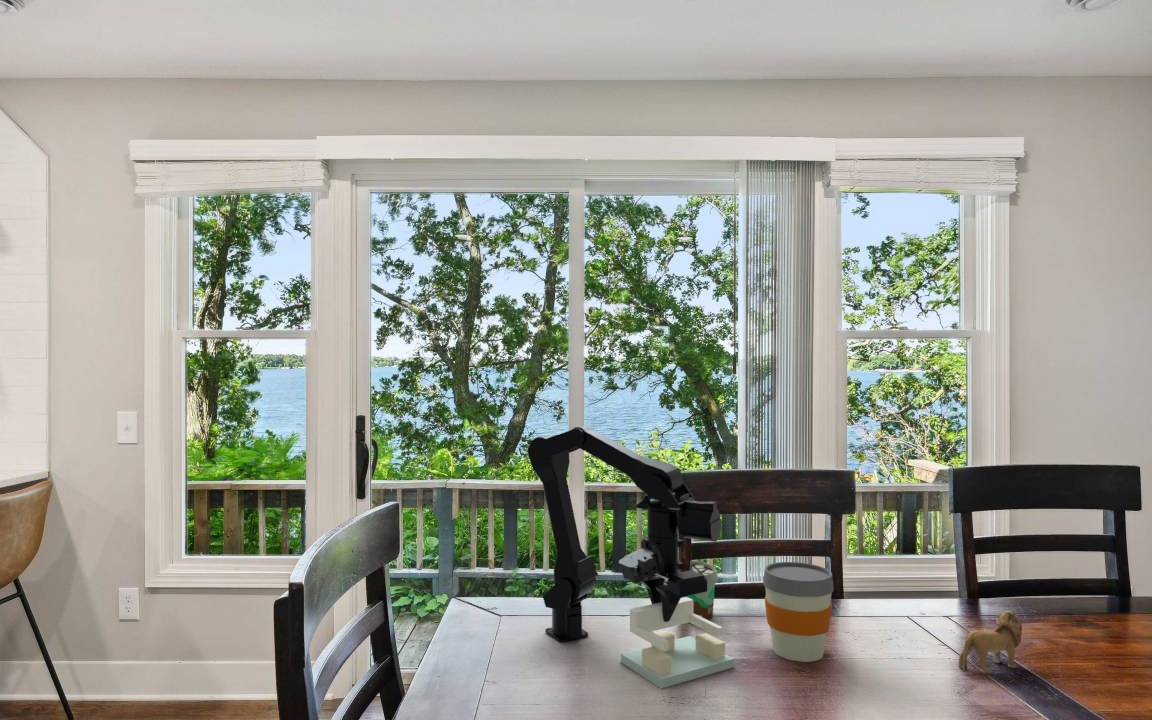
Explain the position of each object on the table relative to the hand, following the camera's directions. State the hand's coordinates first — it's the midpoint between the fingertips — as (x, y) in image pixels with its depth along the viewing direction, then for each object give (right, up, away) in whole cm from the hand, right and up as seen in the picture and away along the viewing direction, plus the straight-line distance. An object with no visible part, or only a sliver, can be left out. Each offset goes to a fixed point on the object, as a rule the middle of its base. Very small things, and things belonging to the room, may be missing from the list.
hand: (662, 619), depth 130 cm
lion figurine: (+58, -7, -4) cm, 58 cm away
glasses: (+2, -1, -3) cm, 4 cm away
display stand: (+2, -7, -4) cm, 8 cm away
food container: (+11, -7, +20) cm, 24 cm away
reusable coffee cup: (+26, -7, +2) cm, 26 cm away
